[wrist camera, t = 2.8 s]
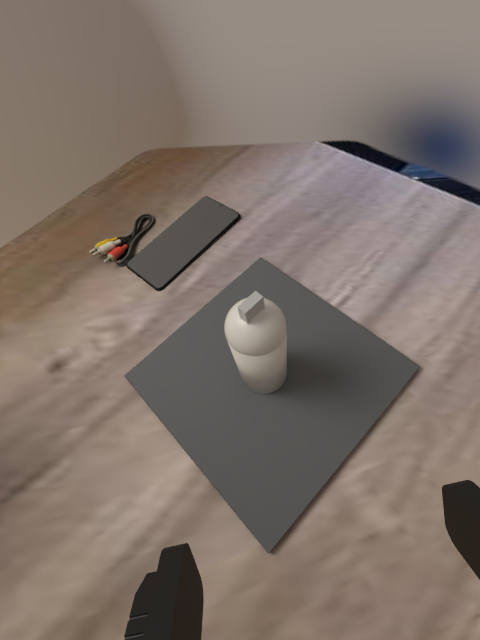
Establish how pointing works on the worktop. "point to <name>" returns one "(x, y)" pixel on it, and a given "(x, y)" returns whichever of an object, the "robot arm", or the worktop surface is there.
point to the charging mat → (271, 400)
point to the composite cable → (123, 243)
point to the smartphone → (182, 242)
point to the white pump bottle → (258, 342)
